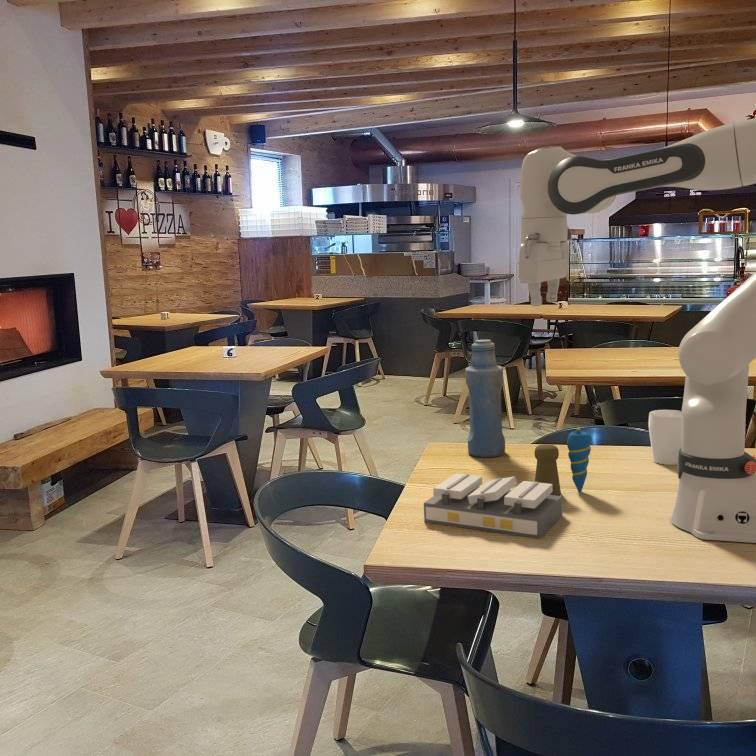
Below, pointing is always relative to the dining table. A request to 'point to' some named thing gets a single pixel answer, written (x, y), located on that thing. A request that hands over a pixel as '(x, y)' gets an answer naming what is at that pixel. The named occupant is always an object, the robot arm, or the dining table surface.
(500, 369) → the bottle
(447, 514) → the switch unit
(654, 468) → the dining table surface
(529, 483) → the panel
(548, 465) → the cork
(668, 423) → the cup
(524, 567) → the dining table surface
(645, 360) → the dining table surface
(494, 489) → the rocker
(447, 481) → the grooved switch paddle
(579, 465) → the ornament
